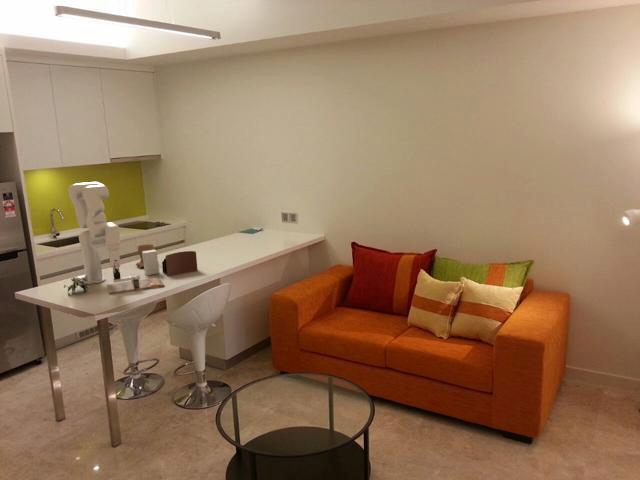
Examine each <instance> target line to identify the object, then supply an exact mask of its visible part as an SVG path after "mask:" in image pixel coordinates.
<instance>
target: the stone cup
mask: <svg viewBox="0 0 640 480" xmlns="http://www.w3.org/2000/svg"><path fill="white" fill-rule="evenodd" d="M149 250H155V248H154V245H153V243H144V244H143V243H142V244H138V245H137V252H138V255H139V258H140V261H139V262H137V263H135V266H136V267H137V268H139V269H140V268H144V263H143V255H142V251H149Z"/></svg>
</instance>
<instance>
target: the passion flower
mask: <svg viewBox="0 0 640 480" xmlns="http://www.w3.org/2000/svg"><path fill="white" fill-rule="evenodd" d="M80 277H81V276H80ZM81 278H82V279H83V280H85V281H87V280H86V279H85V278H83V277H81ZM70 280H71V281H72V284H71V285H69V286H66V284H64V286H63V288H64V289H65V287H66V288H67V292H68V293H69V291H71V295H73V293H74V292H75V291H76V289H77V287H78V286H79V287H80V288H81V289H83V291H84V292H85V293H87V292H88V289H89V288H90V287H89V284H85V283H84V282H83V280H79V279H77V277H72V278H70Z"/></svg>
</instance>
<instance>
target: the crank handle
mask: <svg viewBox="0 0 640 480" xmlns="http://www.w3.org/2000/svg"><path fill="white" fill-rule="evenodd" d="M115 269H116V268H115ZM112 270H113V271H112V274H113V273H114V268H113V267H112ZM140 276H141V275H139V274H135V275H134V276H131V275H129V276H124V277H123V276H122V277H121V279H116V280H115V279H114V278H113V281H112V282H113V283H123V282H130V281H131V280H141V277H140Z"/></svg>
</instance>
